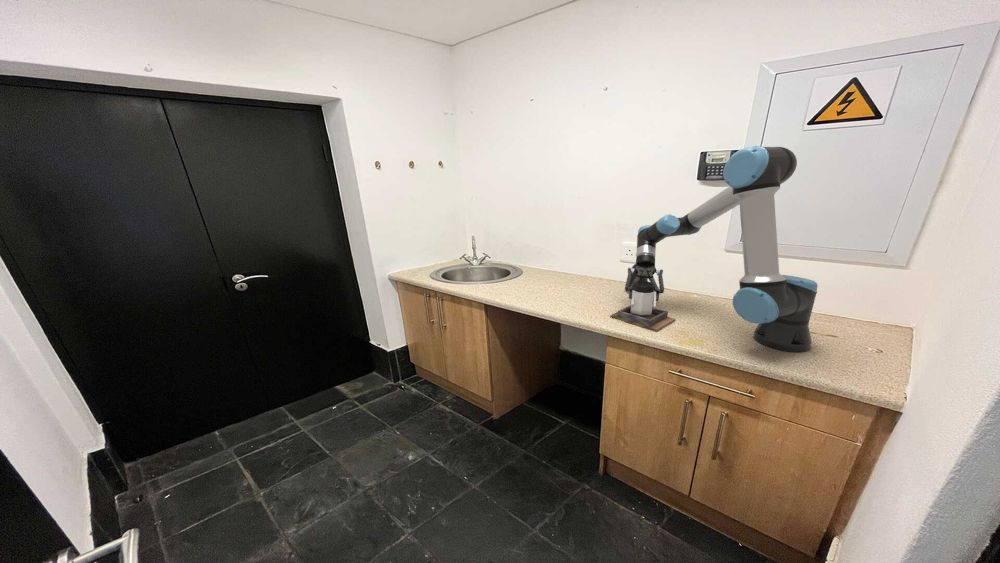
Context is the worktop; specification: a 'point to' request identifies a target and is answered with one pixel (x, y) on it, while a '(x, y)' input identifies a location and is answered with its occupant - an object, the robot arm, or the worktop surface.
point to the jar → (642, 297)
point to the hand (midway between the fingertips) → (643, 306)
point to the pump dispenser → (635, 277)
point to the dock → (645, 318)
